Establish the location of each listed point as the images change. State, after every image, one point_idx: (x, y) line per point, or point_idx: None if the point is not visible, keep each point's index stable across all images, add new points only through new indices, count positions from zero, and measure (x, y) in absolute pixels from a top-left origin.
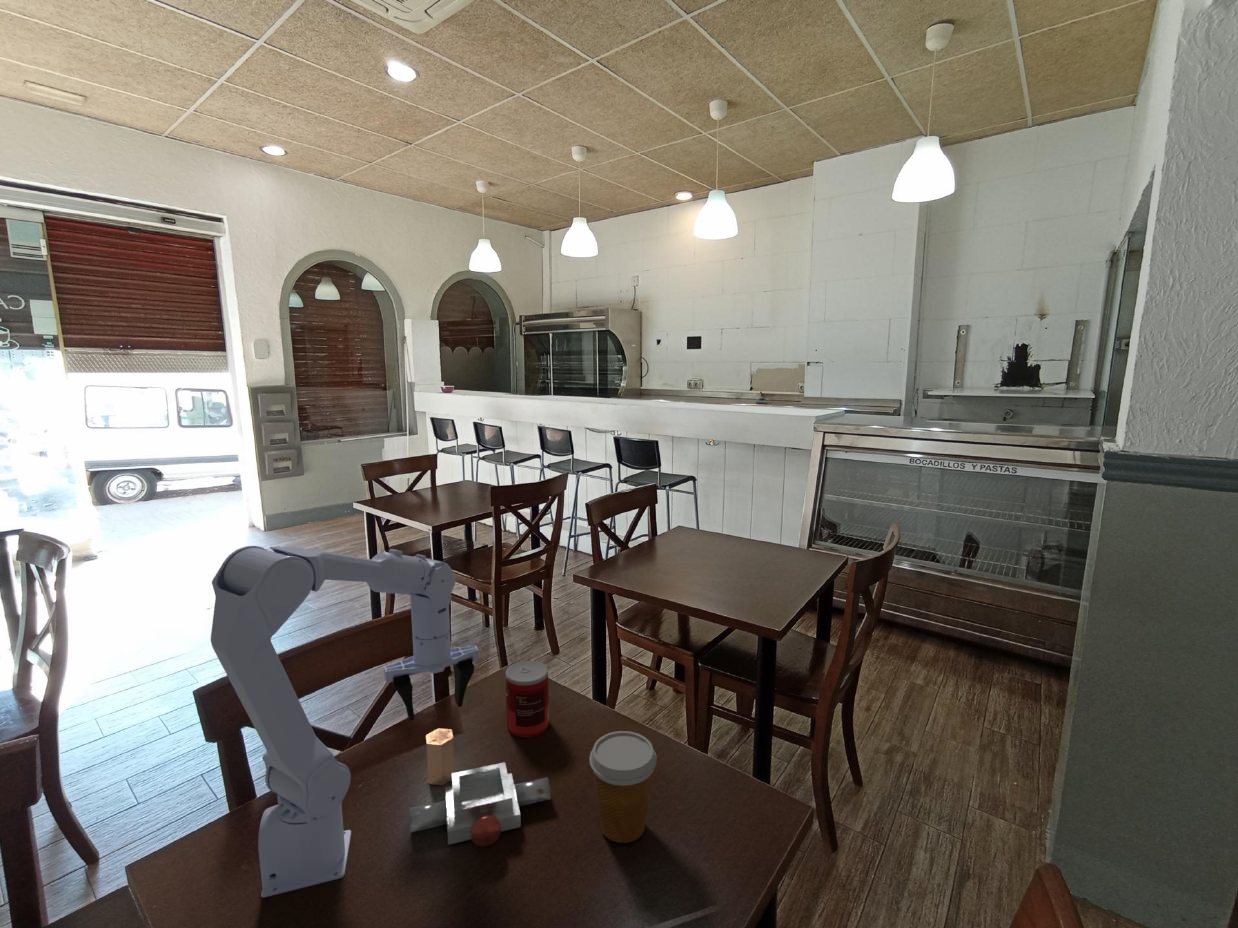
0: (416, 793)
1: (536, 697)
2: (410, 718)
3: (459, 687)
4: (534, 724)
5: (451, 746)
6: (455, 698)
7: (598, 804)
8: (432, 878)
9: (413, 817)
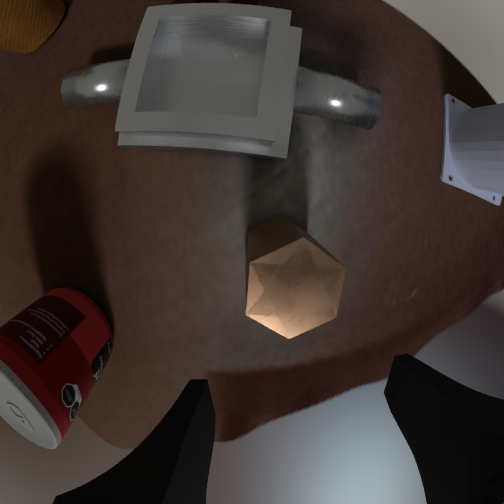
0: (335, 222)
1: (6, 326)
2: (411, 357)
3: (181, 456)
4: (50, 296)
5: (257, 248)
6: (213, 422)
7: (42, 4)
8: (326, 10)
9: (371, 87)
